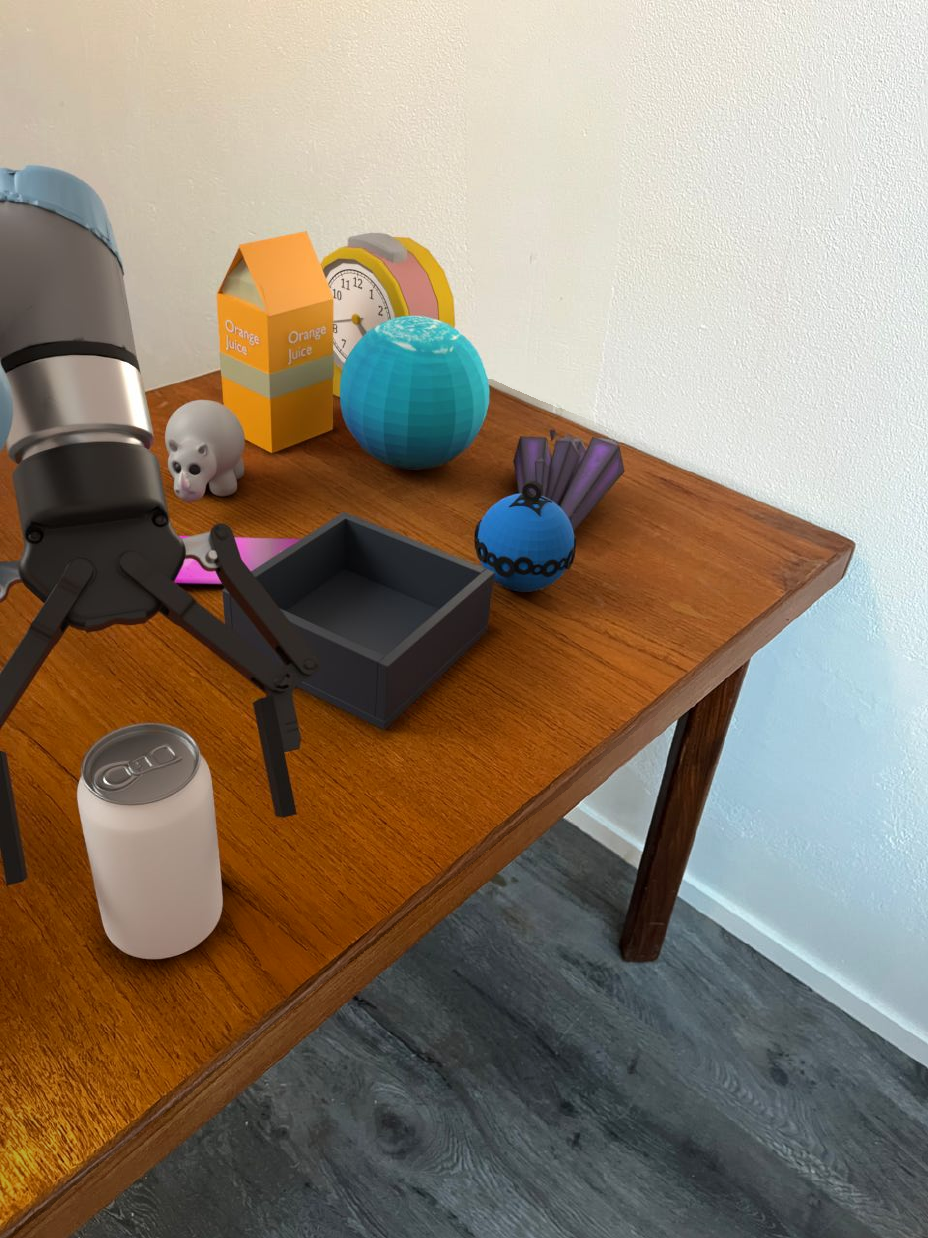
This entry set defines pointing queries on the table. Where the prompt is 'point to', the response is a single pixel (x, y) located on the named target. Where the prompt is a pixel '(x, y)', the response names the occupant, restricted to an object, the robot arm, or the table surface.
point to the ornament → (525, 540)
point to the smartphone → (251, 554)
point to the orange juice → (277, 342)
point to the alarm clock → (381, 289)
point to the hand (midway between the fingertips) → (158, 847)
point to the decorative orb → (414, 392)
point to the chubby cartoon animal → (204, 449)
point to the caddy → (371, 613)
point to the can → (151, 839)
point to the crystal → (569, 471)
